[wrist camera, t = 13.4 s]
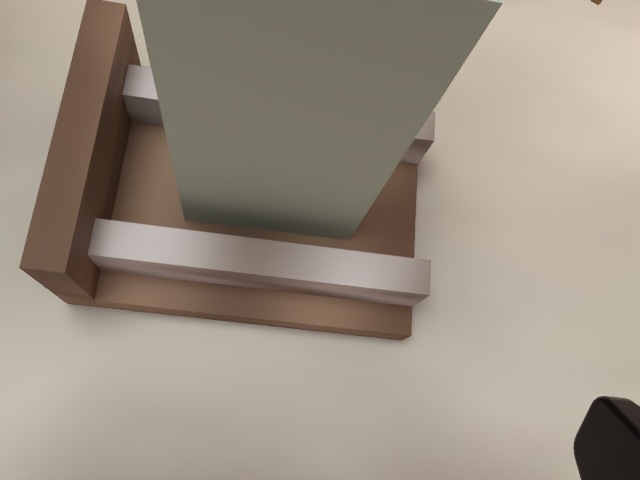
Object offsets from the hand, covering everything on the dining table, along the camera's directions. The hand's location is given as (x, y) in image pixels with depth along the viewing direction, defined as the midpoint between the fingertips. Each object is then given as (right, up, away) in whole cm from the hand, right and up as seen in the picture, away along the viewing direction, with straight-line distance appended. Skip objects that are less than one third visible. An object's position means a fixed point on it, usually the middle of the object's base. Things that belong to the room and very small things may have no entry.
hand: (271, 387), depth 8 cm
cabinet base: (-1, +3, +15) cm, 16 cm away
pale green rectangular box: (-1, +3, +14) cm, 15 cm away
